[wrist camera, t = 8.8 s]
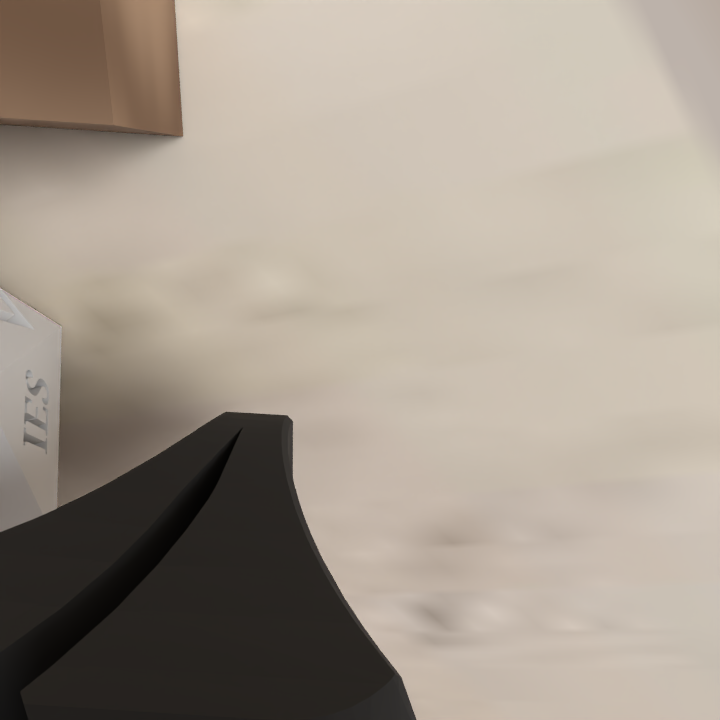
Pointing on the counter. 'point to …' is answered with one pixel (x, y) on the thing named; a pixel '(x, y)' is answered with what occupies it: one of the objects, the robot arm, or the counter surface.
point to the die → (28, 412)
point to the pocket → (90, 65)
